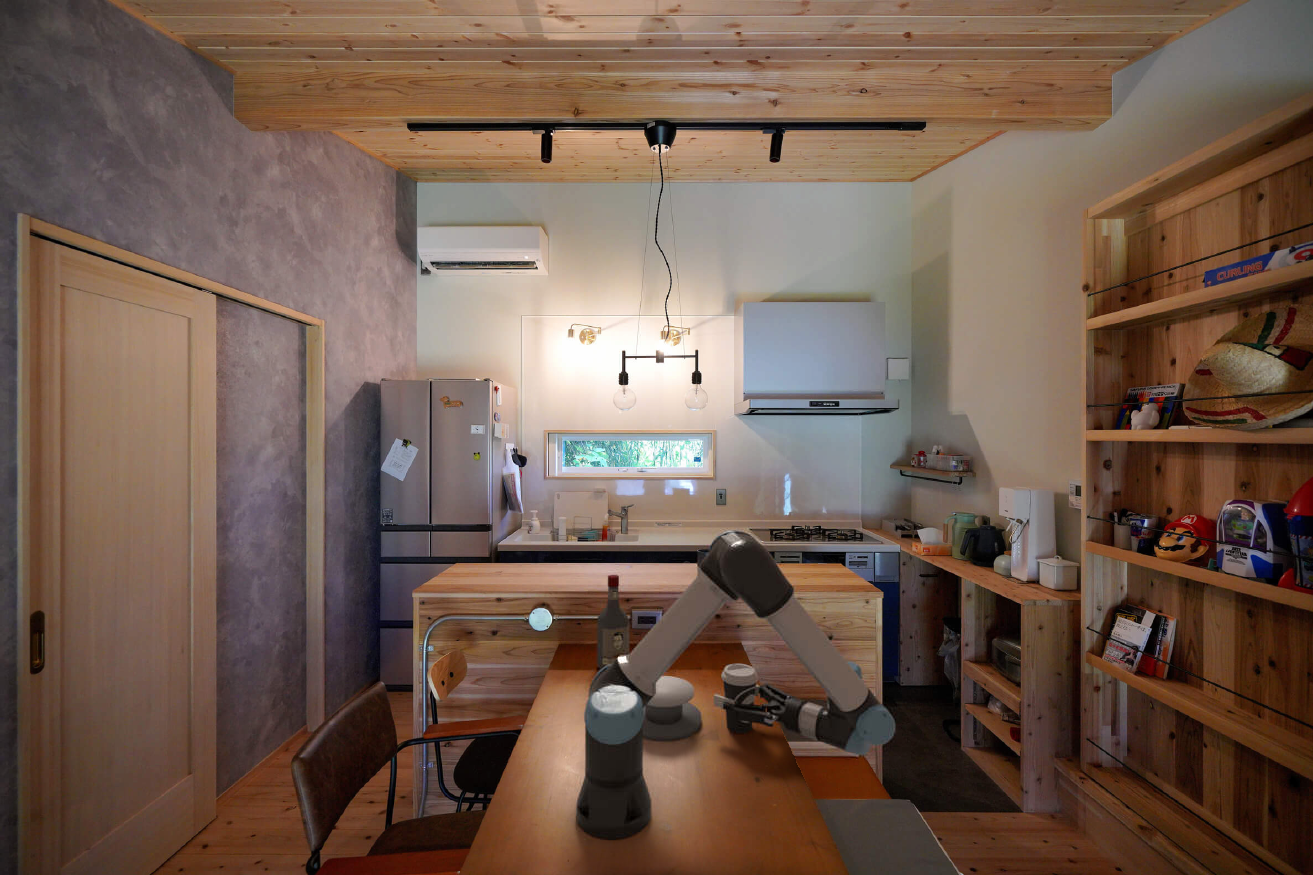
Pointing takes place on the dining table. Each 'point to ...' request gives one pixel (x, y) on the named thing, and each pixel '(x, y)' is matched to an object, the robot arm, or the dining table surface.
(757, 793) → the dining table surface
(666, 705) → the cup stand
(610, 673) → the robot arm
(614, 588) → the liquor
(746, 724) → the coffee cup
